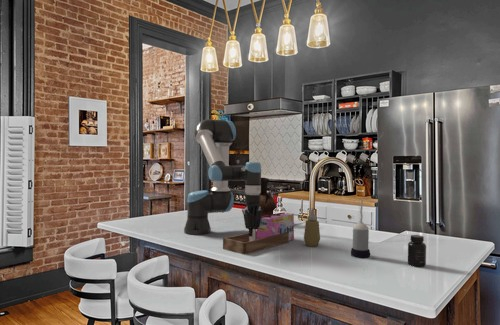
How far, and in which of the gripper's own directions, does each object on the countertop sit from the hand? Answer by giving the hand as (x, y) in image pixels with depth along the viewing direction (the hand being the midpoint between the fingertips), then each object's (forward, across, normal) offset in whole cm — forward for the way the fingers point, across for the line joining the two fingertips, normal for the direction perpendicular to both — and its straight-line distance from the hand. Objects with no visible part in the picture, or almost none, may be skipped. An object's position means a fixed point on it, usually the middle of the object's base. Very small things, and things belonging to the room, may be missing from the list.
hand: (252, 242), depth 177 cm
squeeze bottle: (+2, +23, -19) cm, 30 cm away
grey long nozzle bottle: (+2, +23, -45) cm, 50 cm away
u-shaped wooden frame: (+2, +3, 0) cm, 4 cm away
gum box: (+2, +16, -2) cm, 16 cm away
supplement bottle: (+2, +26, -68) cm, 73 cm away
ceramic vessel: (+2, +52, +39) cm, 65 cm away
